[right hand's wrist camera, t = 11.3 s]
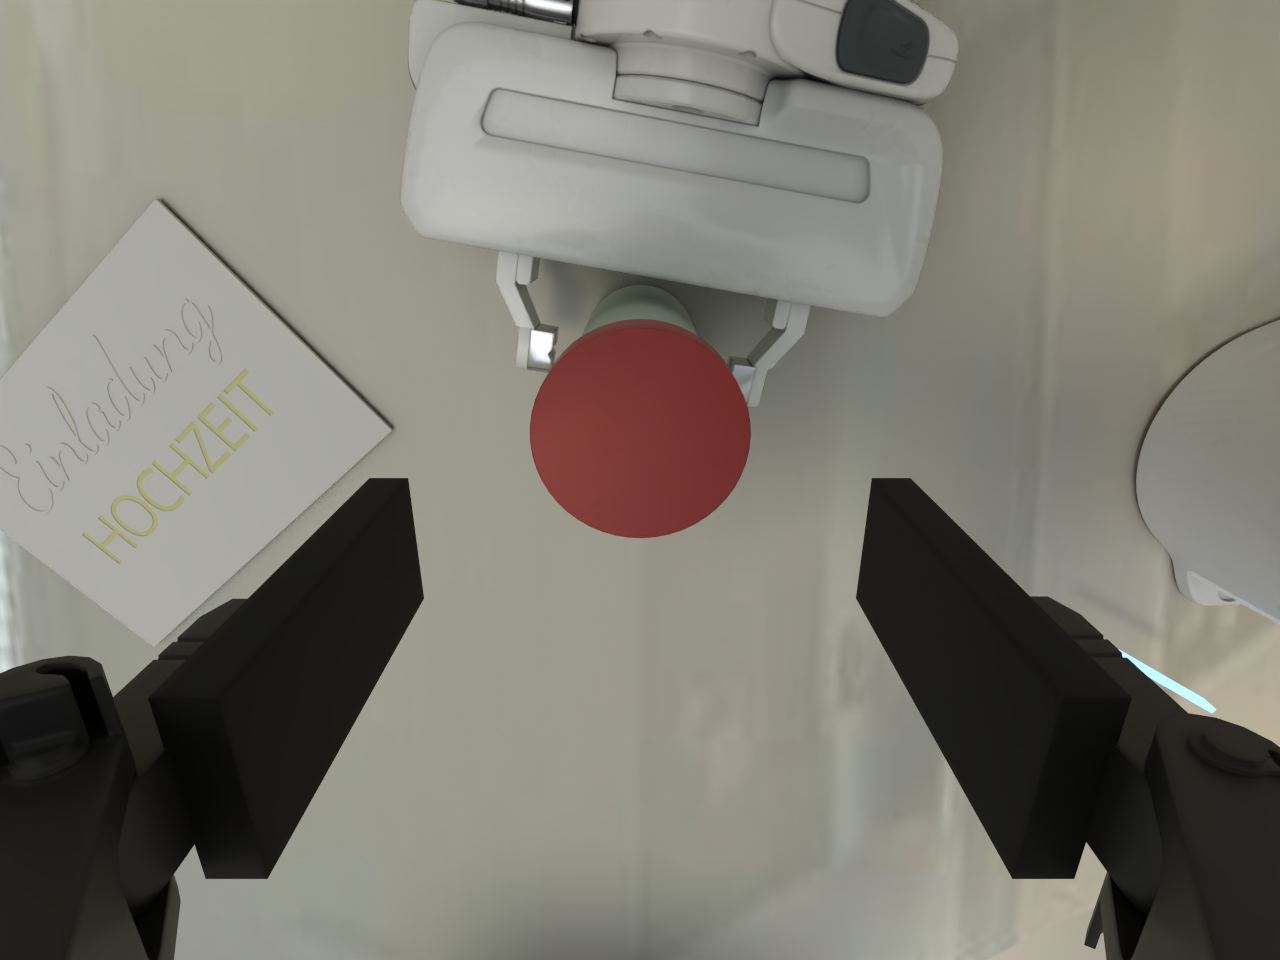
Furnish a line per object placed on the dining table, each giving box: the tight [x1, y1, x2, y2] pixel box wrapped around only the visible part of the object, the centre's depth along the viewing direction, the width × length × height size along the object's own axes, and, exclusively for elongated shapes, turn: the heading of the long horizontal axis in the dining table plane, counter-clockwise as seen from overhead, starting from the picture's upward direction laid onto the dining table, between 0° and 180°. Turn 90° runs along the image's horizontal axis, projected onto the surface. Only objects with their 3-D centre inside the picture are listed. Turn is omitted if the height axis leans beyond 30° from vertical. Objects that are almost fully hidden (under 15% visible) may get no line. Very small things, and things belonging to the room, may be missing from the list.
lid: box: [530, 319, 751, 538], centre depth 21 cm, size 6×6×2 cm
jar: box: [582, 285, 698, 336], centre depth 28 cm, size 6×6×16 cm
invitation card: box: [0, 199, 393, 647], centre depth 37 cm, size 21×1×15 cm
